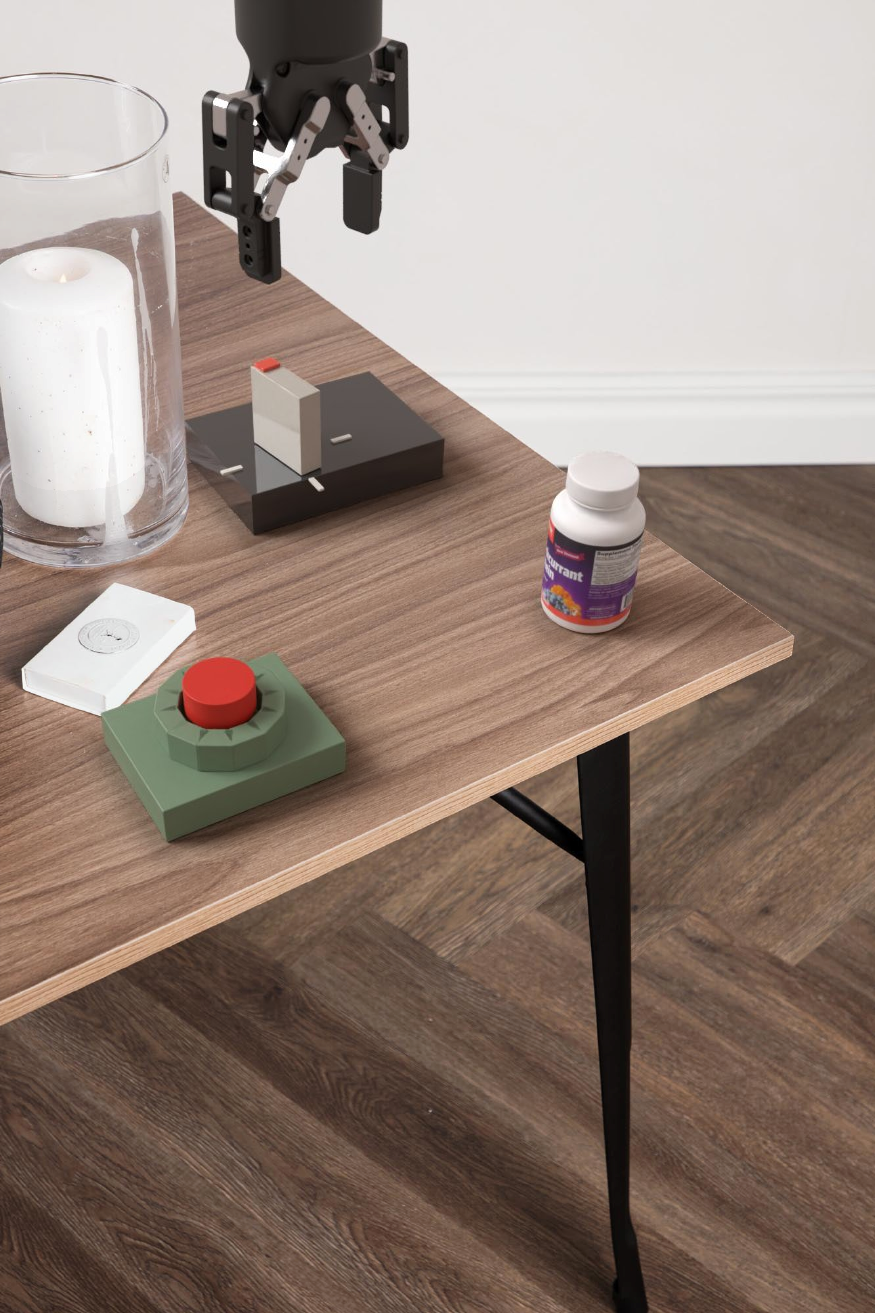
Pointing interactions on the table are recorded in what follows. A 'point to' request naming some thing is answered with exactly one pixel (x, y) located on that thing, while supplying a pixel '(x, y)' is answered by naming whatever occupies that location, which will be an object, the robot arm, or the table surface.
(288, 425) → the beige rectangular block
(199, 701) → the red button cap
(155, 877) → the table surface
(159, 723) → the button housing
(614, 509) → the pill bottle
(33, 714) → the table surface
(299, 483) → the panel
